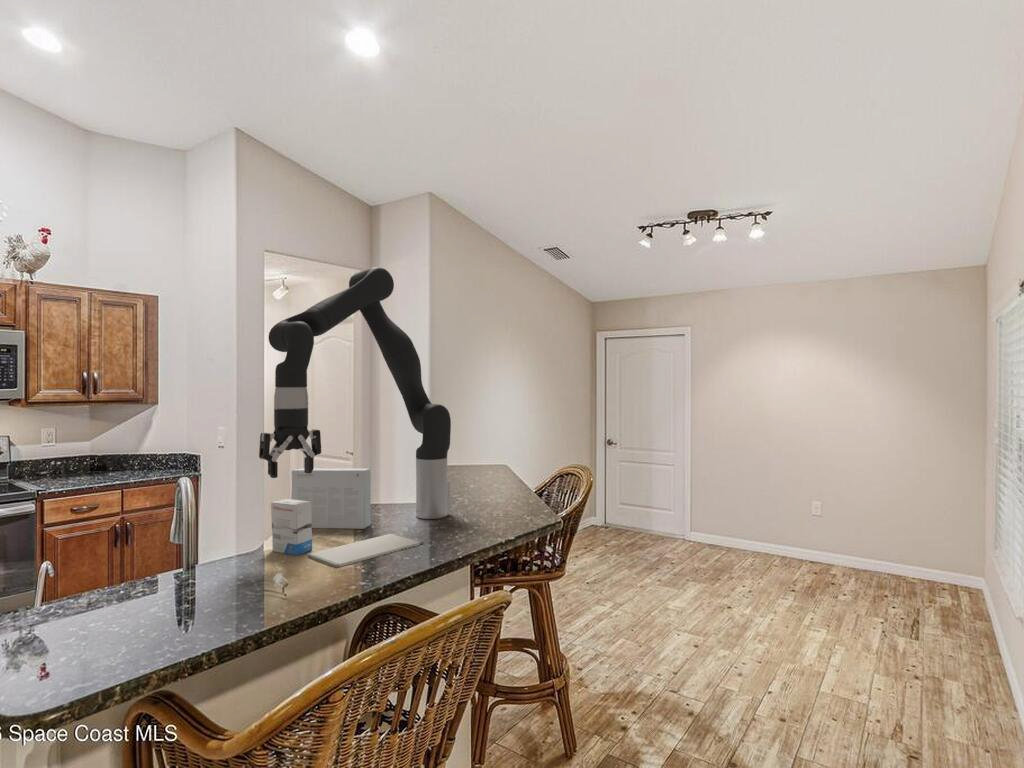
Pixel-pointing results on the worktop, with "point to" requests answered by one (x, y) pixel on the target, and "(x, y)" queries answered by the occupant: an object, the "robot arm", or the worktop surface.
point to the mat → (364, 549)
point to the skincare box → (335, 496)
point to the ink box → (291, 526)
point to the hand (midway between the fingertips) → (291, 475)
